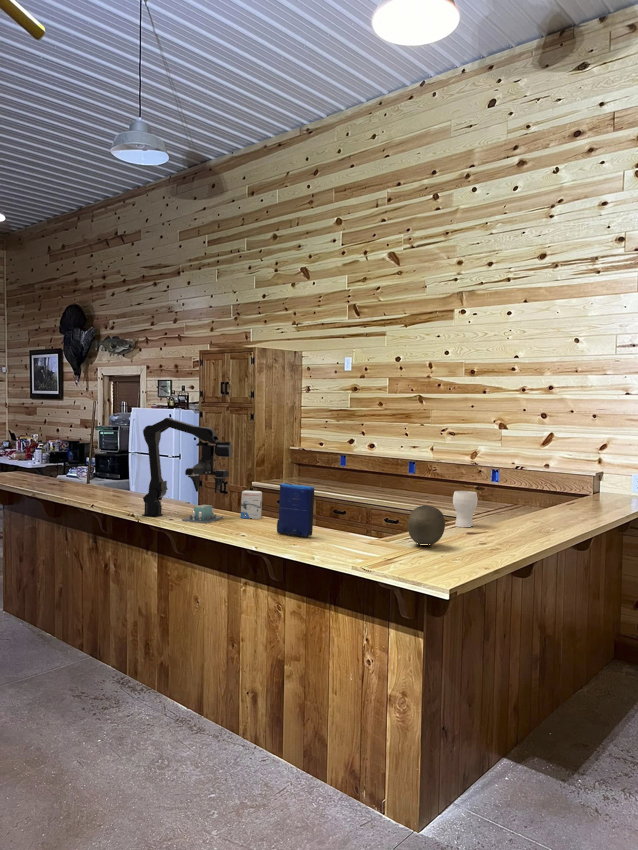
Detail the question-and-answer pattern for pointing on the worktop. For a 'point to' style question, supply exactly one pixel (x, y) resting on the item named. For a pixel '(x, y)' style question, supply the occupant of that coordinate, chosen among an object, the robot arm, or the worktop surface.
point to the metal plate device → (199, 520)
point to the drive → (203, 511)
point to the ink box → (251, 504)
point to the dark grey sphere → (426, 525)
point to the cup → (464, 507)
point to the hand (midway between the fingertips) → (206, 492)
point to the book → (295, 510)
